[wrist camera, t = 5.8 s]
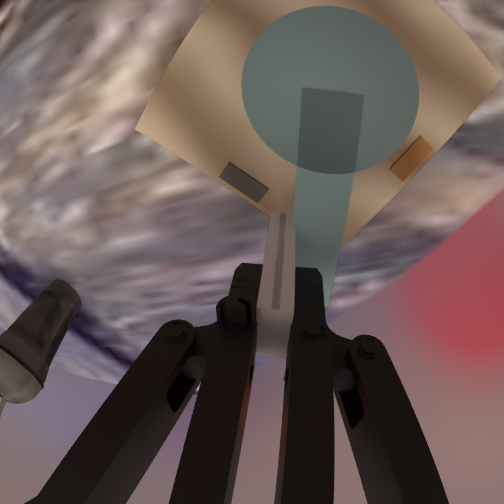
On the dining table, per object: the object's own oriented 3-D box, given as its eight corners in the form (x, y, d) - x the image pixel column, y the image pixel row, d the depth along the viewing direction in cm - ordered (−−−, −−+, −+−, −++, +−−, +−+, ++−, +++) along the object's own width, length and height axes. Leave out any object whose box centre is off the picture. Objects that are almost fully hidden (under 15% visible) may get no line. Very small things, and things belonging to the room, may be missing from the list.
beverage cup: (43, 260, 29) (-56, 395, 13) (93, 291, 31) (2, 445, 15) (44, 296, 33) (-34, 415, 17) (88, 324, 35) (17, 455, 19)
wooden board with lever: (295, -83, 9) (292, -110, 6) (490, 75, 13) (523, 83, 10) (145, 123, 19) (115, 139, 16) (328, 246, 23) (331, 281, 20)
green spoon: (253, 12, 11) (241, 1, 9) (402, 30, 10) (425, 25, 8) (250, 265, 19) (242, 298, 17) (361, 275, 19) (367, 310, 16)
